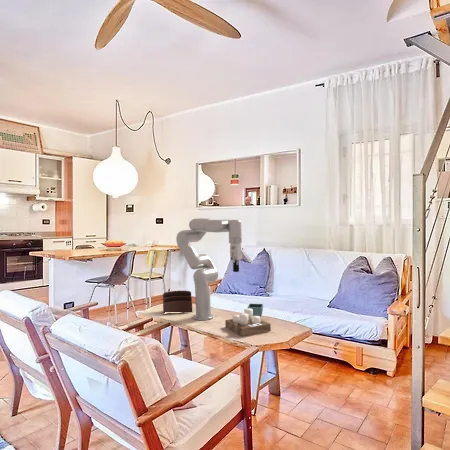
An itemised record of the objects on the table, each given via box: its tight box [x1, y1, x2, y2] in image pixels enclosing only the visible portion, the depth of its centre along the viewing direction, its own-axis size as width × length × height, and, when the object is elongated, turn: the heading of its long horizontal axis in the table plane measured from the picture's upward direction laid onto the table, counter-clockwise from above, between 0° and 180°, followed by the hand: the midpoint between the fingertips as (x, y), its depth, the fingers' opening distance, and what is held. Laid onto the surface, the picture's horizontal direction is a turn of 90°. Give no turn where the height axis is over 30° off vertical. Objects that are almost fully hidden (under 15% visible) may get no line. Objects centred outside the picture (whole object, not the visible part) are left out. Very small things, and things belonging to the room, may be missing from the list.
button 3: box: [243, 307, 253, 321], centre depth 205 cm, size 5×5×6 cm
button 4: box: [252, 316, 261, 324], centre depth 198 cm, size 5×5×6 cm
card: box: [248, 323, 262, 327], centre depth 192 cm, size 4×7×1 cm, turn 117°
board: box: [224, 318, 272, 337], centre depth 199 cm, size 20×18×4 cm
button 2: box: [238, 312, 249, 327], centre depth 195 cm, size 5×5×6 cm
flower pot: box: [247, 303, 264, 320], centre depth 217 cm, size 9×9×9 cm
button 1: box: [232, 314, 240, 323], centre depth 202 cm, size 5×5×6 cm
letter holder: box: [162, 290, 193, 313], centre depth 242 cm, size 10×20×14 cm, turn 99°
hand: (236, 271), depth 205 cm, fingers closed
